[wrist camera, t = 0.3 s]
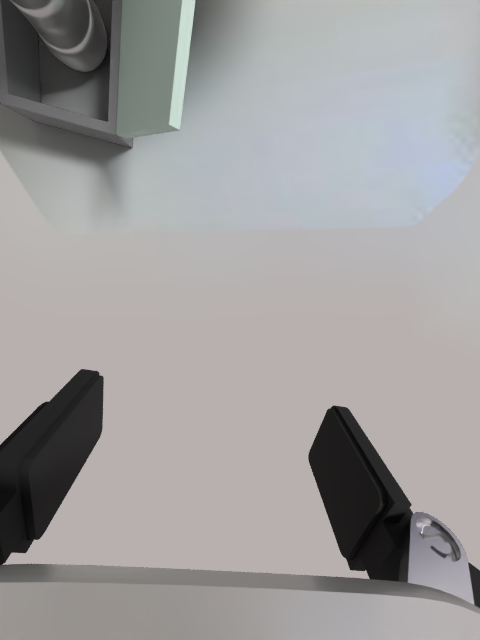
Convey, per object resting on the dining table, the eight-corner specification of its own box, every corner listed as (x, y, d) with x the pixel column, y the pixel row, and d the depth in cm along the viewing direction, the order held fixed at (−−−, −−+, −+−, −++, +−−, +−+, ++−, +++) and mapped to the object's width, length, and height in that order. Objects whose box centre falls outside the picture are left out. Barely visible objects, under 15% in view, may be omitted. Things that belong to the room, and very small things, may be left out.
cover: (209, -259, 14) (223, -232, 14) (127, -110, 21) (138, -97, 22) (169, 124, 20) (179, 130, 21) (116, 134, 27) (125, 138, 28)
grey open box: (21, -95, 25) (-26, -170, 20) (145, -49, 26) (128, -107, 21) (32, 120, 31) (-2, 102, 26) (132, 147, 32) (116, 135, 28)
